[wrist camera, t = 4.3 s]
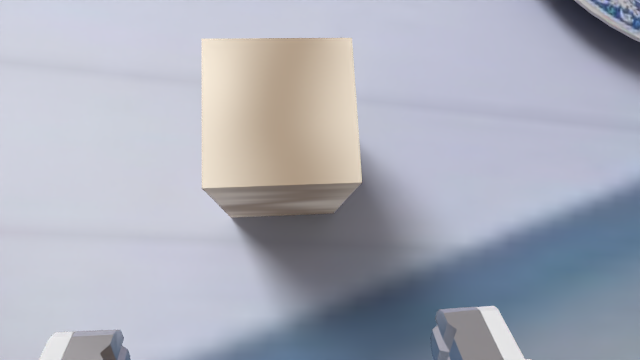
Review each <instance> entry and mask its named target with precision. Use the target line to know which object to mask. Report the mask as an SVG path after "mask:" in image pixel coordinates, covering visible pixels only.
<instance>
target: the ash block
mask: <svg viewBox="0 0 640 360" xmlns="http://www.w3.org/2000/svg"><path fill="white" fill-rule="evenodd" d="M361 183H362V173H361V159H360V145H359V131H358V117H357V103H356V89H355V75H354V61H353V47H352V38H257V39H202V189H203V190H204V191H205V192H206V193H207V194H208V195H209V196H210V197H211V198H212V199H213V200H214V201H215V202H216V203H217V204H218V205H219V206H220V207H221V208H222V209H223V210H224V211H225V212H226V213H227V214H228V215H229V216H230V217H231V218H234V217H258V216H281V215H305V214H329V213H334V212H335V211H336V210H337V209H338V208H339V207H340V206H341V205H342V204H343V203H344V202H345V201H346V199H347V198H348V197H349V196H350V195H351V194H352V193H353V192H354V191H355V190H356V189H357V188H358V186H359V185H360V184H361Z"/></svg>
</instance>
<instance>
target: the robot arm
mask: <svg viewBox="0 0 640 360" xmlns="http://www.w3.org/2000/svg"><path fill="white" fill-rule="evenodd" d="M435 320H436V323H437V326H436V327H435V328H433V329H432V333H431V338H430V339H431V351H432V356H433V359H434V360H532V359H525V358H524V356H523V354H522V352H521V350H520V349H519V347H518V345H517V343H516V341H515V339H514V338H513V336H512V334H511V332H510V330H509V328H508V327H507V325H506V323H505V321H504V319H503V317H502V316H501V314H500V312H499V310H498V309H497V308H496V307H495V306H485V307H464V308H451V309H439V310H438V311H437V313H436V317H435ZM123 340H124V337H123V335H122V332H121V330H99V331H72V332H55V333H54V334H53V335H52V336H51V337H50V338H49V339H48V341H47V343H46V345H45V348H44V350H43V352H42V354H41V356H40V358H39V360H130V355H129V351H128V349H126V348H125V347H123V346H122V343H123Z"/></svg>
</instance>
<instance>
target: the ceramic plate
mask: <svg viewBox="0 0 640 360" xmlns="http://www.w3.org/2000/svg"><path fill="white" fill-rule="evenodd" d="M574 1H576V2H577V3H578V4H579V5H581V6H582V7H583V8H584V9H586V10H587V11H588V12H589V13H591V14H592V15H594V16H595V17H597V18H598V19H600V20H601V21H603V22H604V23H606V24H607V25H609V26H610V27H612V28H614V29H615V30H617V31H619V32H621V33H623V34H624V35H626V36H628V37H630V38H632V39H634V40H636V41H638V42H640V0H574Z"/></svg>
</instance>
